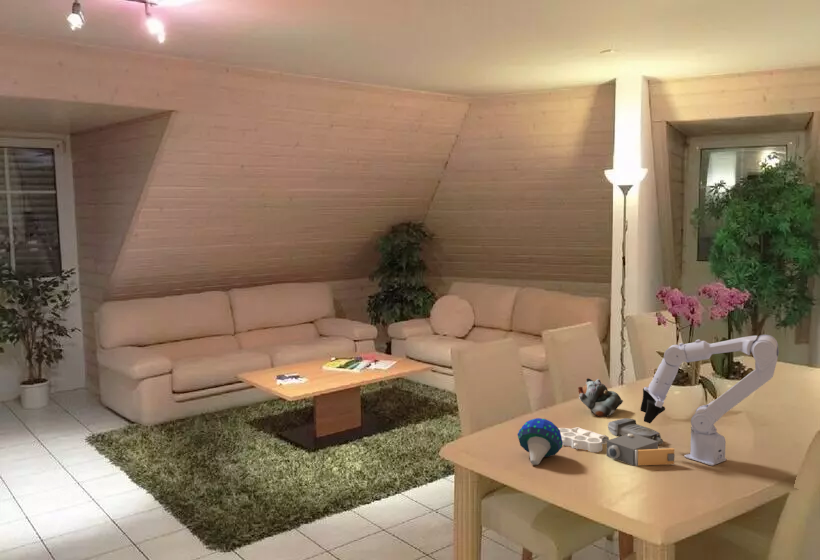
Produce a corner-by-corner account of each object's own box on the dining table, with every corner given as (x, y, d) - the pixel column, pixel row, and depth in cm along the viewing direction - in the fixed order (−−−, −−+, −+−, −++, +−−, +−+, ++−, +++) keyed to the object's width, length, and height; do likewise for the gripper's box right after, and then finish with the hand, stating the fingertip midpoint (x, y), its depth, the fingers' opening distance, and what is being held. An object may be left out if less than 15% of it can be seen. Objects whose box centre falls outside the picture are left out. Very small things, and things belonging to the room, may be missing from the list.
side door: (675, 464, 207) (675, 449, 207) (636, 466, 206) (636, 451, 206) (672, 462, 209) (673, 448, 209) (634, 464, 208) (634, 449, 208)
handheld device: (652, 450, 222) (653, 436, 221) (604, 433, 238) (604, 420, 238) (672, 444, 227) (672, 430, 226) (623, 428, 244) (623, 415, 243)
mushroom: (514, 444, 206) (524, 404, 215) (509, 468, 216) (519, 428, 226) (561, 457, 202) (569, 416, 212) (554, 481, 212) (562, 440, 222)
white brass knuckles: (617, 446, 226) (589, 456, 217) (572, 432, 240) (544, 441, 231) (617, 436, 226) (589, 446, 217) (572, 423, 240) (544, 432, 231)
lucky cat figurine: (606, 419, 252) (587, 385, 253) (584, 424, 262) (566, 391, 263) (629, 400, 261) (611, 368, 261) (607, 406, 271) (589, 374, 271)
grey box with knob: (657, 456, 215) (658, 439, 214) (630, 466, 207) (630, 448, 207) (630, 447, 223) (631, 431, 222) (603, 457, 215) (603, 439, 215)
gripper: (647, 367, 224) (630, 402, 228) (654, 384, 210) (636, 422, 214) (668, 374, 224) (650, 410, 228) (676, 393, 210) (658, 430, 214)
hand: (645, 416), depth 221 cm, fingers open, 7 cm apart
